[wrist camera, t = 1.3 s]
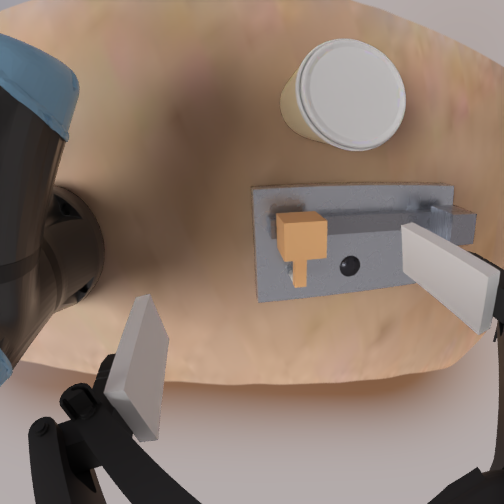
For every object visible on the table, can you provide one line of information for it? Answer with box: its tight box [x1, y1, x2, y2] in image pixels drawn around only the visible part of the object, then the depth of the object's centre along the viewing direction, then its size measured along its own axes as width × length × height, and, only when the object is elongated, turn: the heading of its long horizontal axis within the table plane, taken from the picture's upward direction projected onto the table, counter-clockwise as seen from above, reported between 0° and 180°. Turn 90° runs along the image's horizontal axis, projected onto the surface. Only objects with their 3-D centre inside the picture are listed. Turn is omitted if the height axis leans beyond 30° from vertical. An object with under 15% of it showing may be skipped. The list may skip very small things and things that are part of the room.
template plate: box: [251, 183, 477, 303], centre depth 34 cm, size 26×13×8 cm, turn 93°
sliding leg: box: [276, 211, 327, 288], centre depth 32 cm, size 4×8×6 cm, turn 3°
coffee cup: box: [280, 39, 406, 151], centre depth 27 cm, size 9×9×12 cm
